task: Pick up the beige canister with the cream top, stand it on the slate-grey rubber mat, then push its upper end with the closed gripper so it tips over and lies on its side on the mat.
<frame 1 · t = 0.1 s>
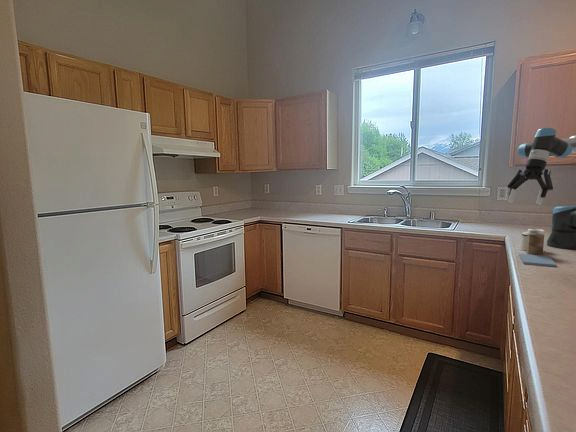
hand: (523, 203, 154), 28 cm above the counter, tool tilted 20°, fingers open, 13 cm apart
beige canister: (534, 254, 166), on the counter
slate mat: (536, 260, 155), on the counter
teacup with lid: (530, 250, 177), on the counter
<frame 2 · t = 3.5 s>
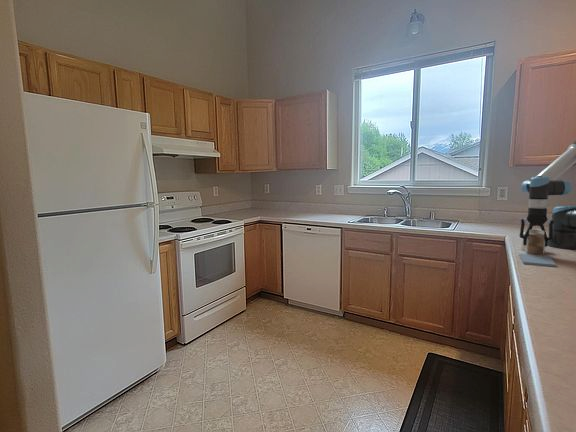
hand: (534, 252, 166), 1 cm above the counter, tool pointing down, fingers closed on beige canister, 6 cm apart
beige canister: (534, 254, 166), on the counter, touching gripper
everything else where it was.
when the fingers open (4 cm above the counter, at t = 8.9 s): beige canister drops 1 cm, resting on slate mat.
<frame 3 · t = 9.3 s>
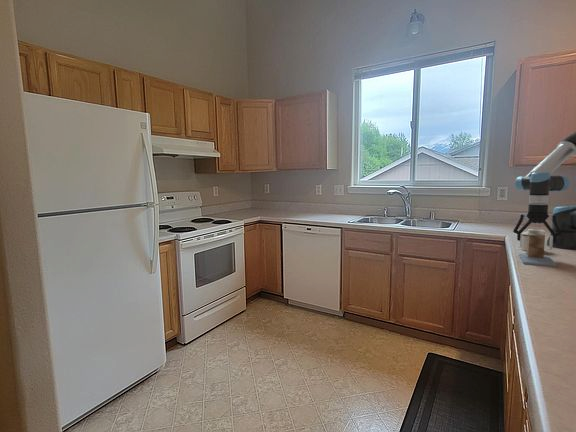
hand: (535, 248, 159), 5 cm above the counter, tool pointing down, fingers open, 11 cm apart
beige canister: (534, 256, 159), point 1 cm above the counter, touching slate mat
everything else where it was.
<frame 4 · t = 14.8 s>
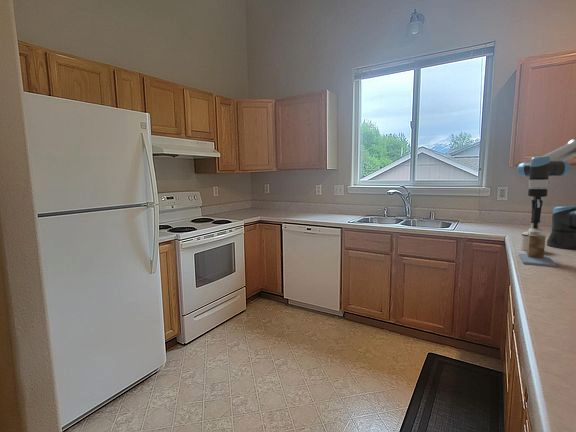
hand: (534, 235, 161), 11 cm above the counter, tool pointing down, fingers closed
beige canister: (534, 255, 159), point 1 cm above the counter, tilted 8°, touching slate mat
everything else where it was.
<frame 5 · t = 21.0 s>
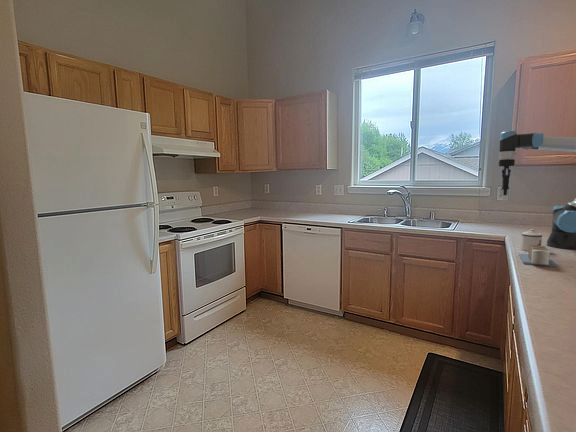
hand: (504, 200, 185), 26 cm above the counter, tool pointing down, fingers closed
beige canister: (536, 251, 156), point 4 cm above the counter, tilted 90°, touching slate mat
everything else where it was.
at the end: beige canister tilted 90°; beige canister inside the target area on the slate mat (1.5 cm from its centre), point 4.0 cm above the slate mat's base; beige canister touching slate mat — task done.
